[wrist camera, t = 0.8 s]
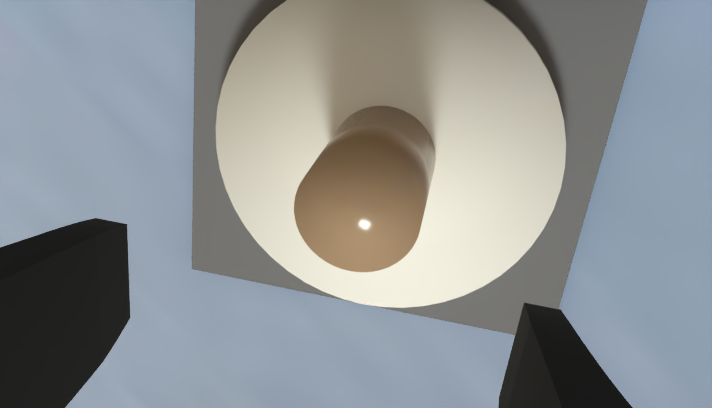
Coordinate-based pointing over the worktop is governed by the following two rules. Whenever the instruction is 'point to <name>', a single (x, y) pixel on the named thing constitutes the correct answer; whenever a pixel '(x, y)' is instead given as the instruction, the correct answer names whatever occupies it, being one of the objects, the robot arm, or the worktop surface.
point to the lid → (391, 145)
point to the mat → (583, 157)
